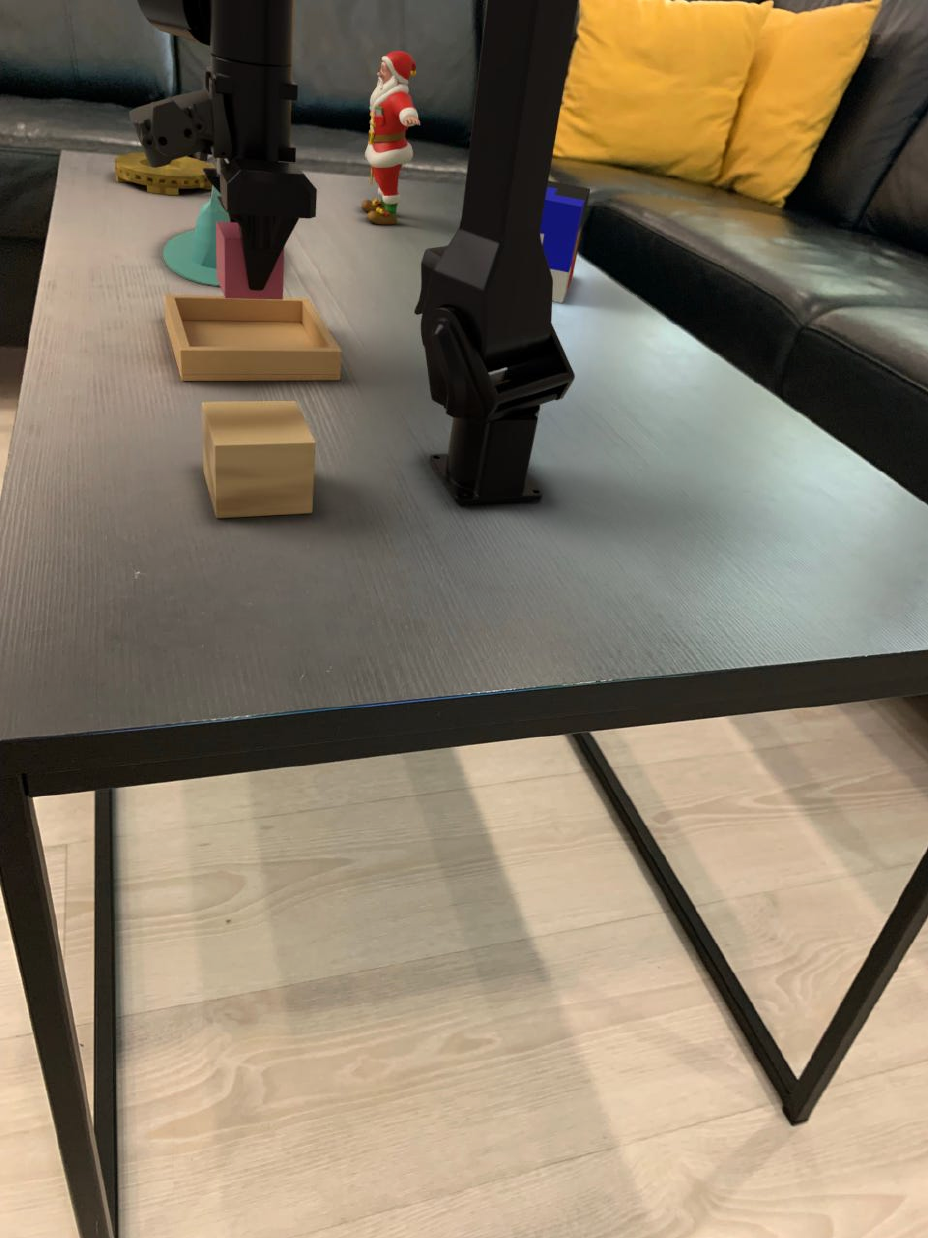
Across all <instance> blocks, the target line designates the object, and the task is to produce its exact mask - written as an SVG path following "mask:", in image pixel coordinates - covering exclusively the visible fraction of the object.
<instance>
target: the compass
mask: <svg viewBox="0 0 928 1238" xmlns="http://www.w3.org/2000/svg"><path fill="white" fill-rule="evenodd" d="M203 168H213V165H211V164H210V163H208V162H207V161H200V160H199V158H198V159H197V158H193V157H189V156H184V157H181V158H178V159H175V160H172V161H171V163H170V164H169V165H166V166H162V167H158V168H152V167H150V166H149V163H148V161H147V158H146V156H145V153H144V152H130V153H122V154H120V155H117V156H116V157H114V170H115V171H114V172H115V180H116V182H117V183H135V184H138V185H144V186H146V193H151V194H158V195H167V196H168V195H169V196H179V194H180V193H179V189H180V190H181V189H182V190H183V189H203V190H207V191H208V190H210V191H212V188H213V185H212V184H211V183H210V182H209V181H208V179H207V178H206V176H205V174H204V172H203Z"/></svg>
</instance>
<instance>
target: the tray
mask: <svg viewBox="0 0 928 1238" xmlns="http://www.w3.org/2000/svg"><path fill="white" fill-rule="evenodd" d="M163 299H164V316H165V317H164V320H165V321H164V322H165V326H166V329H167V332H168V337H169V341H170V344H171V348H172V351H173V354H174V358H175V362H176V365H177V369H178V373H179V376H180V380H181V382H215V381H216V382H218V381H219V382H232V381H233V382H234V381H235V382H238V381H239V382H241V381H242V382H243V381H245V382H246V381H247V382H249V381H250V382H251V381H252V382H253V381H256V382H257V381H264V382H265V381H266V382H267V381H269V382H271V381H274V382H275V381H340V380H341V368H342V352H343V351H342V350H341V348H340V346H339V345H338V343H337V341H336V340H335V338H334V336H333V335H332V333H331V332H330V330H329V328H328V327H327V325H326V323H325V322H324V321H323V319H322V317H321V316H320V314H319V312H318V310H317V309H316V308H315V306H314V304H313V302H312V301H311V300H310V298H308V297H284V296H283V300H274V299H235V298H225V297H224V295H208V294H207V295H205V294H172V293H171V294H170V293H169V294H168V293H167V294H164V295H163Z"/></svg>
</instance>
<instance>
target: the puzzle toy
mask: <svg viewBox="0 0 928 1238" xmlns="http://www.w3.org/2000/svg"><path fill="white" fill-rule="evenodd" d="M590 195H591V188H590V187H589V188H588V187H584V186H578V185H574V184H568V183H563V182H558V181H553V180H548V186H547V192H546V198H545V204H544V210H543V216H542V222H541V231H540V238H541V242H542V245H543V248H544V252H545V255H546V258H547V261H548V264H549V268H550V271H551V274H552V278H553V295H552V302H554V303H560V304H563V303H564V301H565V298H566V294H567V293H568V291H569V287H570V285H571V283H572V280H573V278H574V277H573V276H574V271H575V266H576V262H577V257H578V252H579V248H580V243H581V237H582V232H583V229H584V223H585V218H586V214H587V213H586V212H587V208H588V205H589V198H590Z"/></svg>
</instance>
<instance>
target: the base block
mask: <svg viewBox="0 0 928 1238" xmlns="http://www.w3.org/2000/svg"><path fill="white" fill-rule="evenodd" d="M201 424H202V425H201V427H202V428H201V429H202V464H203V465H202V466H203V469H202V470H203V476H204V478H205V482H206V486H207V489H208V494H209V498H210V501H211V504H212V505H211V506H212V508H213V511H214V516H215V518H216V519H228V518H229V519H230V518H246V517H263V516H267V517H268V516H285V515H303V514H304V515H305V514H312V513H313V508H314V507H313V506H314V505H313V504H314V487H315V485H314V484H315V468H316V467H315V466H316V447H317V446H316V445H317V443H316V442H317V441H315V438H314V436H313V433H312V431H311V430H310V427H309V425H308V423H307V421H306V419H305V417H304V415H303V412H302V411H301V407H300V406H299V404H298V402H297V401H296V400H264V401H263V400H254V401H253V400H250V401H249V400H248V401H247V400H244V401H243V400H242V401H241V400H240V401H239V400H238V401H201Z"/></svg>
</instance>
